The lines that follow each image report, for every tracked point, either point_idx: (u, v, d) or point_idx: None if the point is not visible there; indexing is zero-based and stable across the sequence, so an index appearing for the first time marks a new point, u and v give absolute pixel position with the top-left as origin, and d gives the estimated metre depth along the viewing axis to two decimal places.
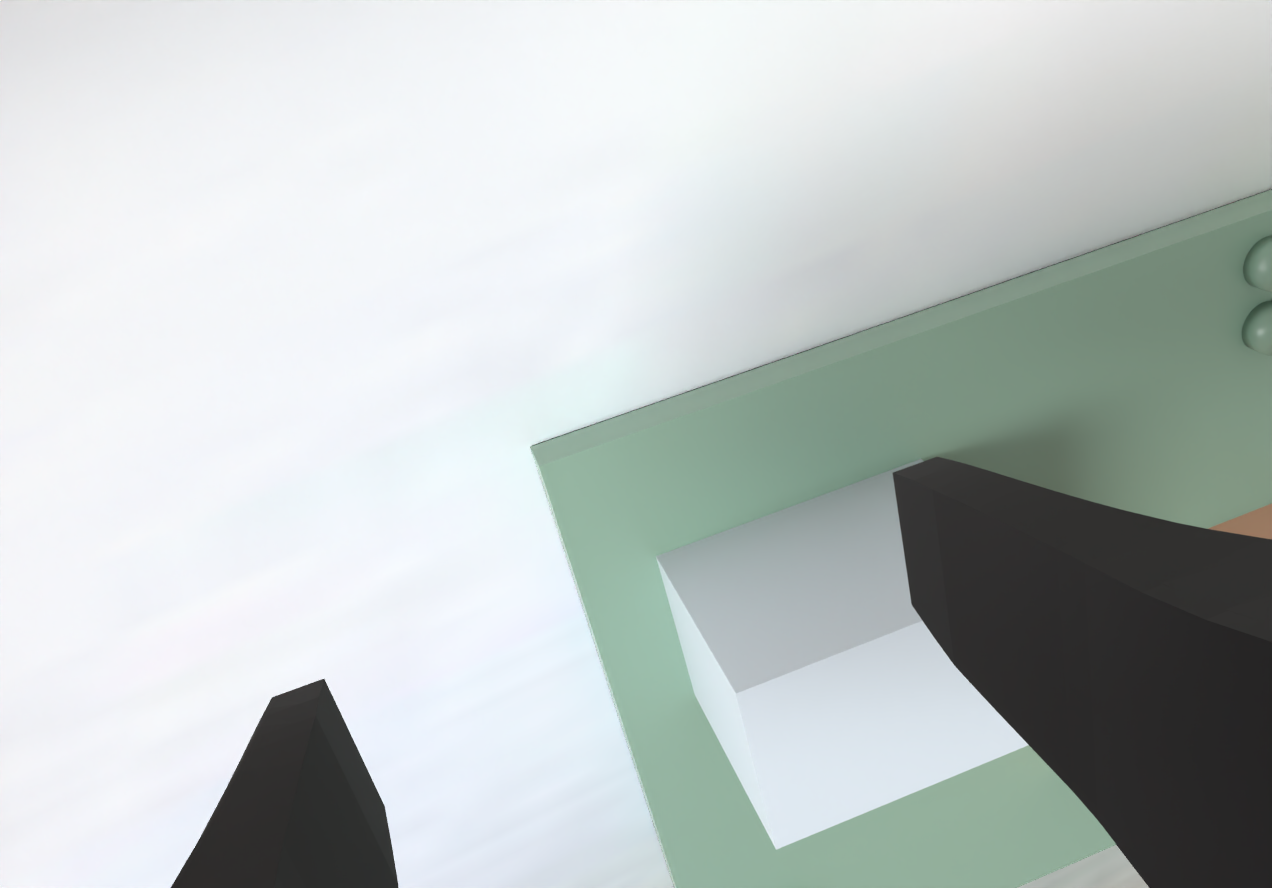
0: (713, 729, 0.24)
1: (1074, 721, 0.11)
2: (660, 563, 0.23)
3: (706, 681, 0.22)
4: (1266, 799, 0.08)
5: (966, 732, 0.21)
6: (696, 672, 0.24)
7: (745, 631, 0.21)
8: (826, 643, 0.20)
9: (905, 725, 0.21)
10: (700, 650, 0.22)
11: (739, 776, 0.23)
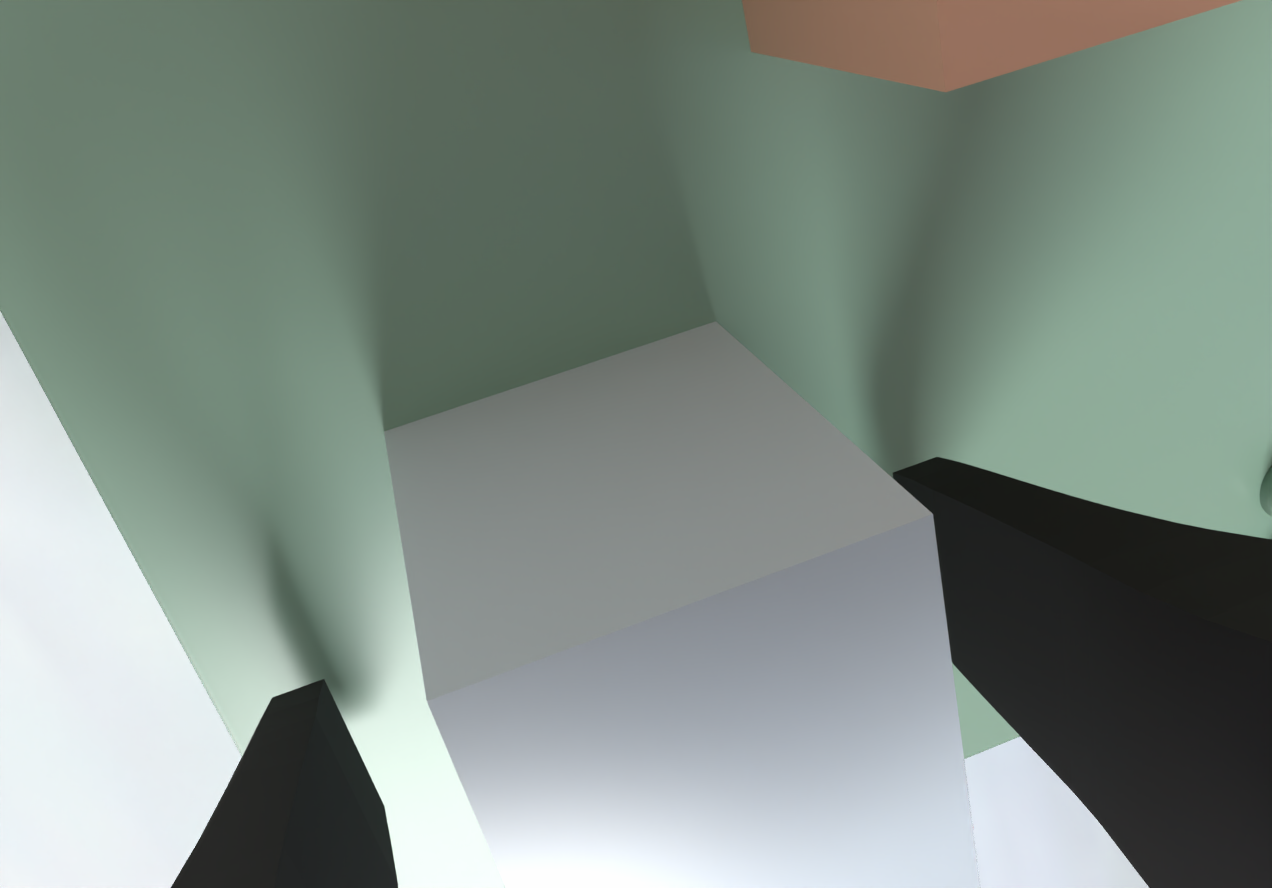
0: None
1: (1074, 720, 0.11)
2: None
3: None
4: (1266, 799, 0.08)
5: (855, 768, 0.09)
6: None
7: None
8: None
9: None
10: None
11: None
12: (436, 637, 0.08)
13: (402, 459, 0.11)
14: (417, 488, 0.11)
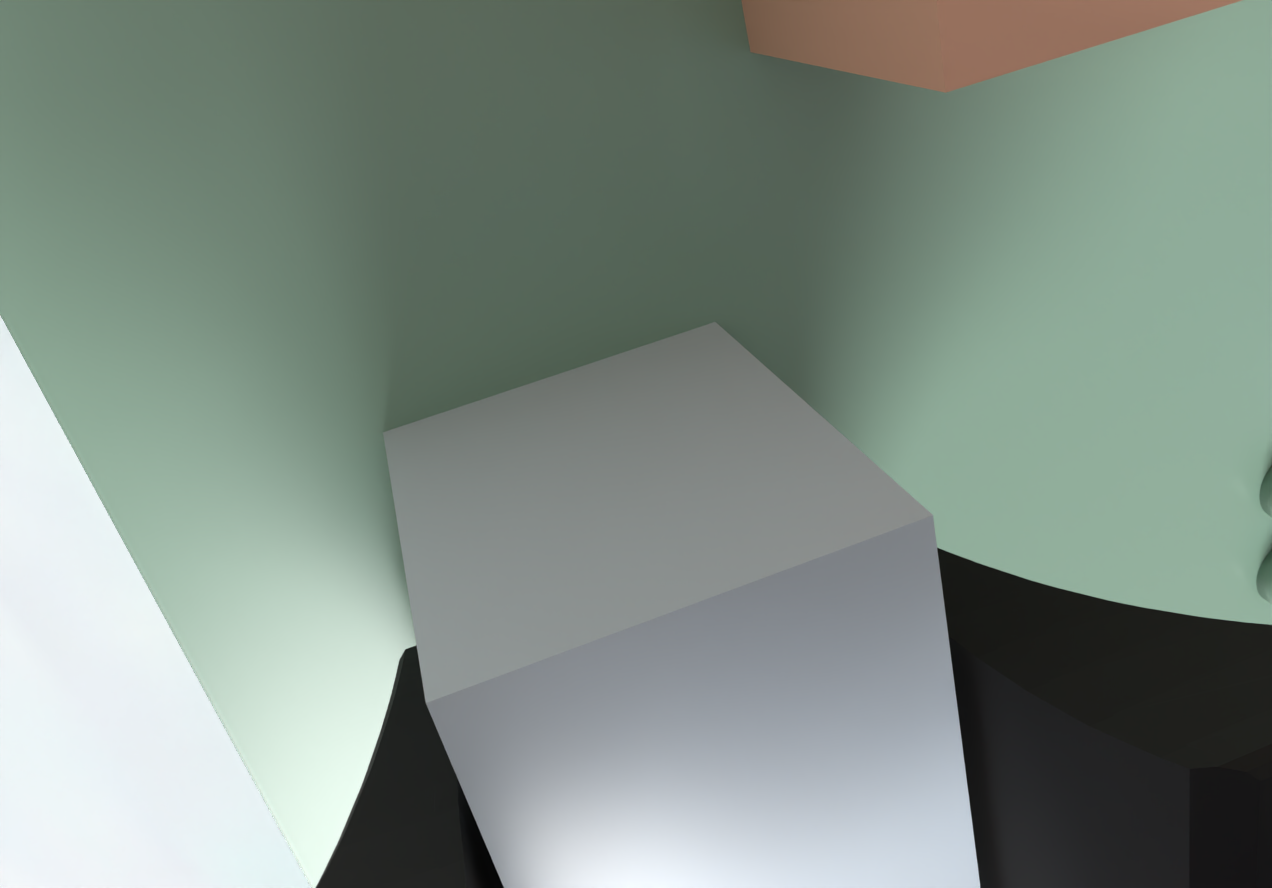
0: None
1: None
2: None
3: None
4: (1090, 875, 0.08)
5: (855, 770, 0.09)
6: None
7: None
8: None
9: None
10: None
11: None
12: (435, 639, 0.08)
13: (401, 460, 0.11)
14: (417, 489, 0.11)
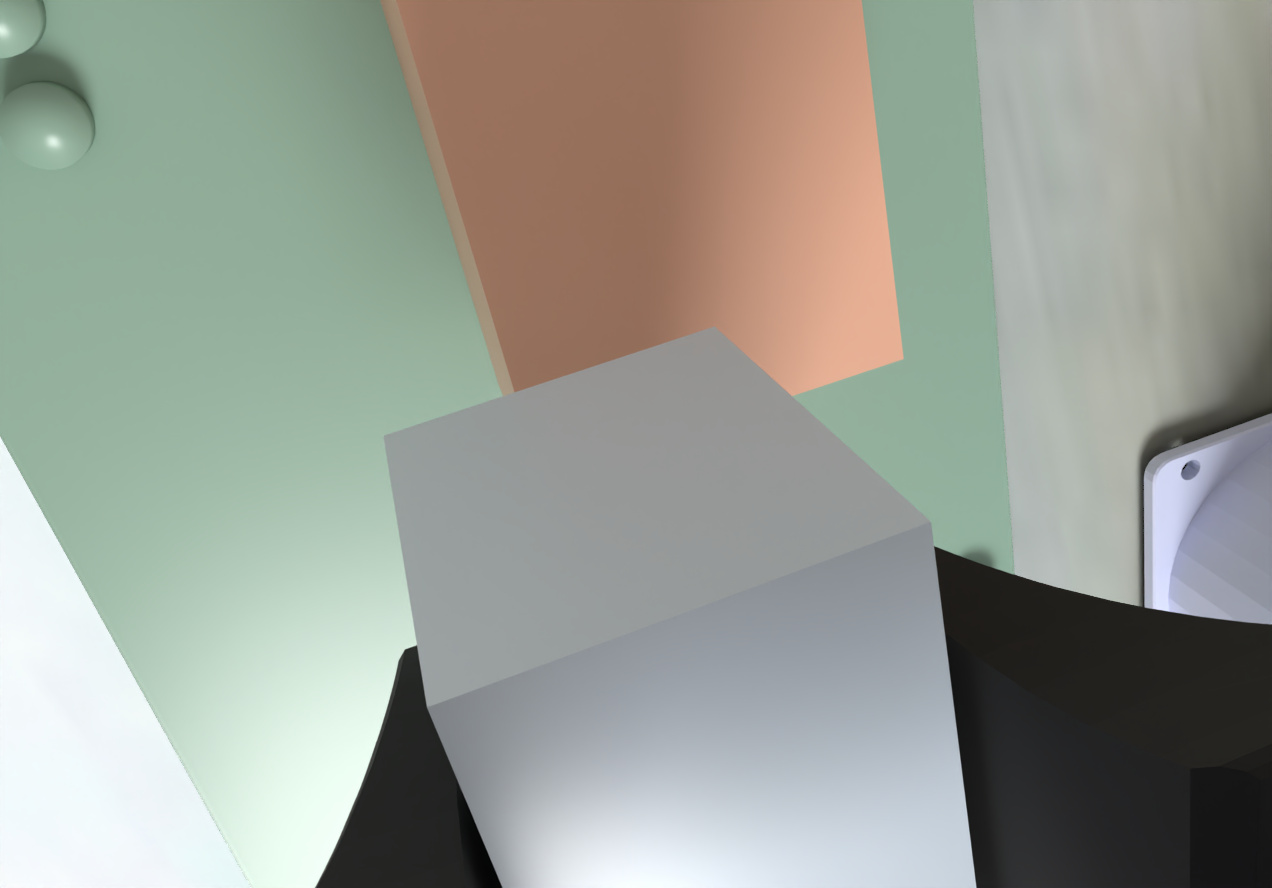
0: None
1: None
2: None
3: None
4: (1090, 875, 0.08)
5: (852, 774, 0.09)
6: None
7: None
8: None
9: None
10: None
11: None
12: (436, 643, 0.08)
13: (401, 463, 0.11)
14: (417, 492, 0.11)
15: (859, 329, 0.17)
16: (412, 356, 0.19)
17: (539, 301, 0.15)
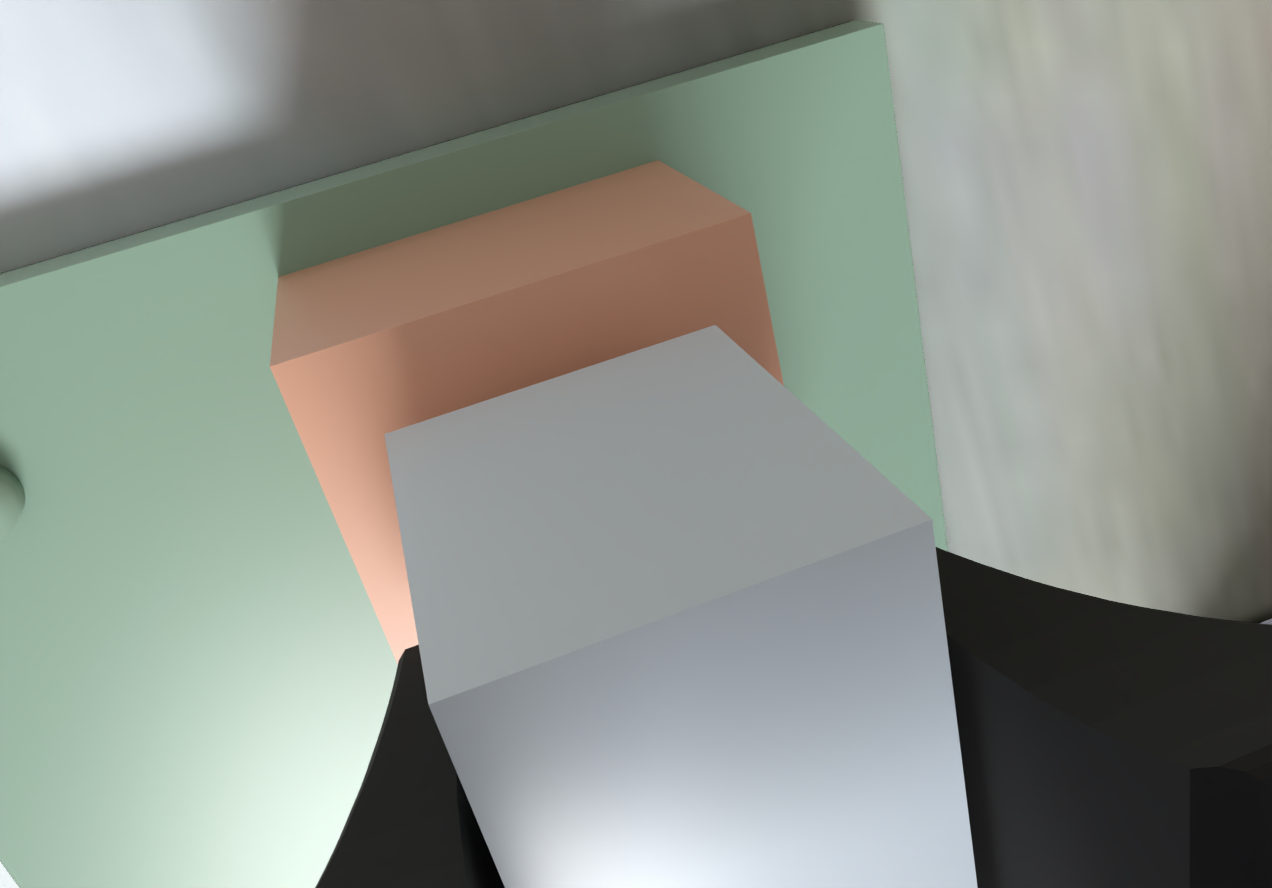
0: None
1: None
2: None
3: None
4: (1090, 875, 0.08)
5: (854, 771, 0.09)
6: None
7: None
8: None
9: None
10: None
11: None
12: (437, 640, 0.08)
13: (402, 462, 0.11)
14: (418, 491, 0.11)
15: None
16: (357, 670, 0.19)
17: None
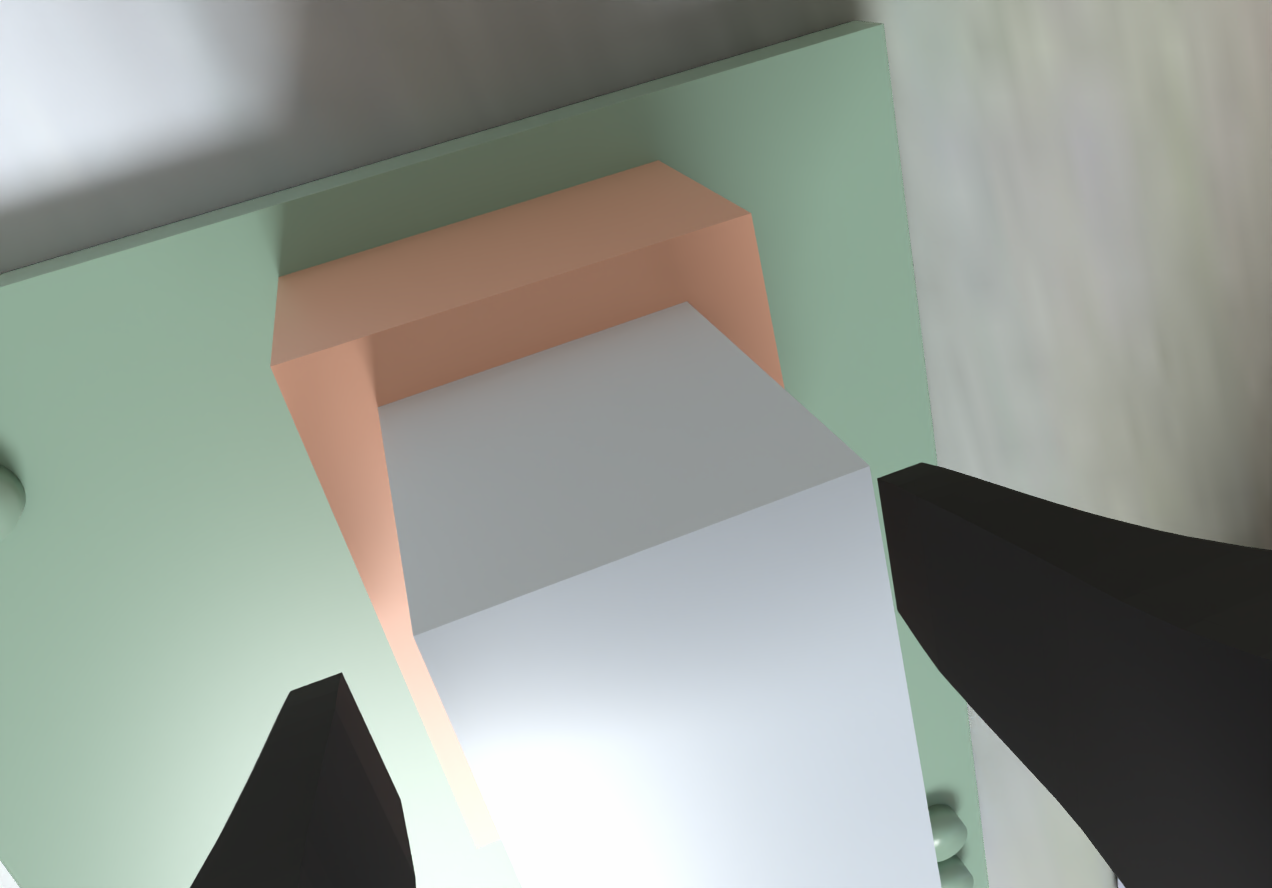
0: None
1: (1056, 728, 0.11)
2: None
3: None
4: (1243, 809, 0.08)
5: (807, 702, 0.10)
6: None
7: None
8: None
9: (754, 826, 0.10)
10: None
11: None
12: (422, 582, 0.09)
13: (394, 431, 0.12)
14: (408, 456, 0.12)
15: None
16: (357, 670, 0.19)
17: None
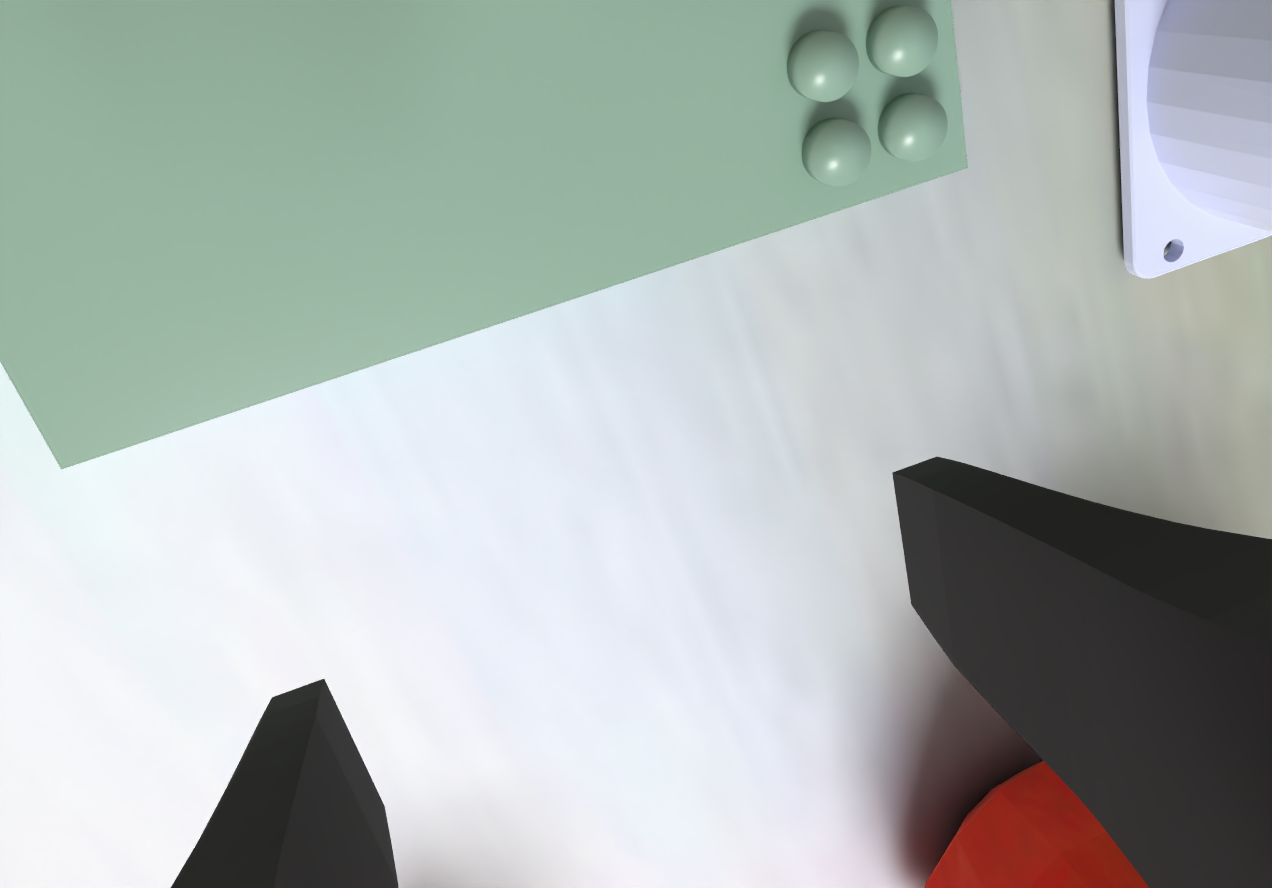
0: None
1: (1073, 720, 0.11)
2: None
3: None
4: (1266, 799, 0.08)
5: None
6: None
7: None
8: None
9: None
10: None
11: None
12: None
13: None
14: None
15: None
16: None
17: None
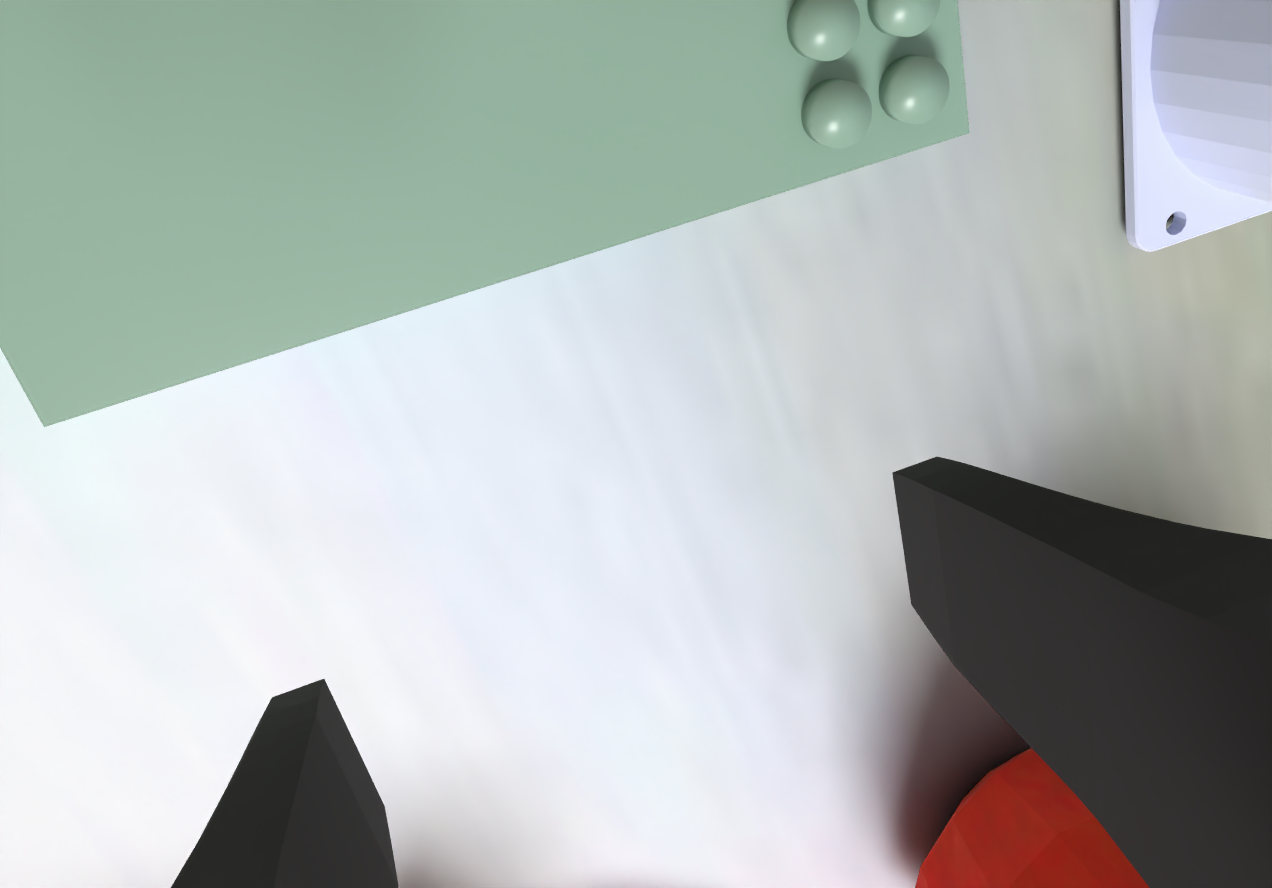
0: None
1: (1074, 721, 0.11)
2: None
3: None
4: (1266, 799, 0.08)
5: None
6: None
7: None
8: None
9: None
10: None
11: None
12: None
13: None
14: None
15: None
16: None
17: None
